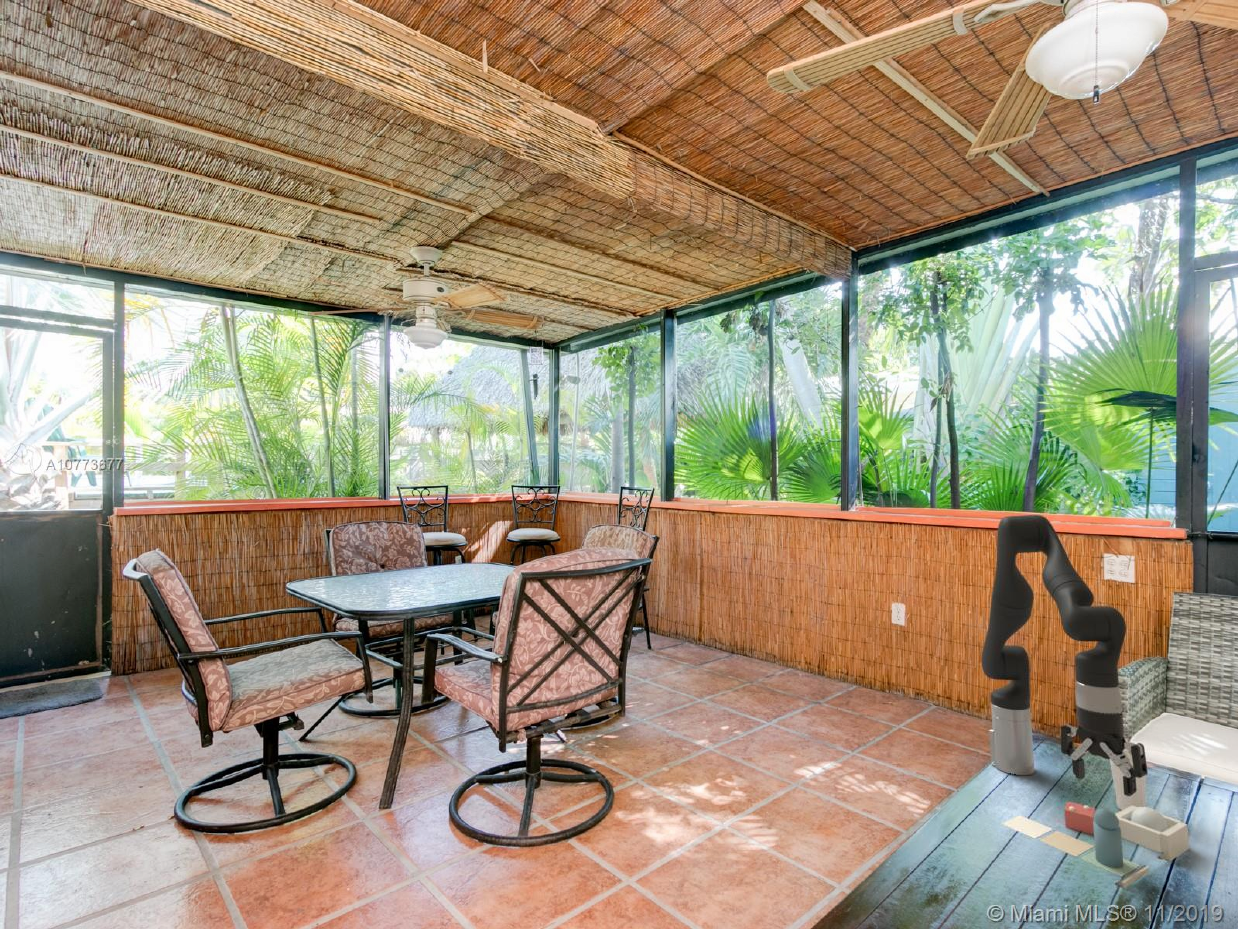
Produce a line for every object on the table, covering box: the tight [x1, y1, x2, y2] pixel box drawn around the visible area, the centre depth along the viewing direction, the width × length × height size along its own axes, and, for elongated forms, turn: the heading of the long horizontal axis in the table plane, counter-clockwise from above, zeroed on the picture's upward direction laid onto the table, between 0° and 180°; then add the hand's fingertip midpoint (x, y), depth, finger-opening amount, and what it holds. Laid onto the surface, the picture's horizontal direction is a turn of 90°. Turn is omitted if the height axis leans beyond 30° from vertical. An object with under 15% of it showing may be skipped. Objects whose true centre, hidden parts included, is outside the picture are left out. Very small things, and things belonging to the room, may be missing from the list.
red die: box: [1064, 801, 1096, 836], centre depth 140 cm, size 5×5×6 cm
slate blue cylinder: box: [1093, 808, 1124, 868], centre depth 127 cm, size 4×4×10 cm
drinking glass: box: [1109, 740, 1147, 811], centre depth 149 cm, size 7×7×15 cm
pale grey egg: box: [1131, 806, 1168, 832], centre depth 135 cm, size 6×6×7 cm
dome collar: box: [1114, 805, 1190, 862], centre depth 135 cm, size 10×10×5 cm
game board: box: [1001, 814, 1150, 889], centre depth 134 cm, size 25×10×1 cm, turn 28°
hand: (1104, 786), depth 128 cm, fingers open, 8 cm apart
